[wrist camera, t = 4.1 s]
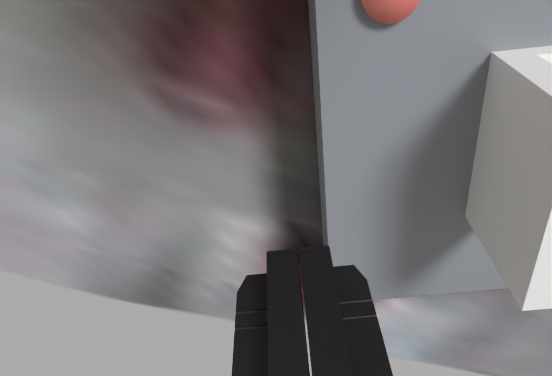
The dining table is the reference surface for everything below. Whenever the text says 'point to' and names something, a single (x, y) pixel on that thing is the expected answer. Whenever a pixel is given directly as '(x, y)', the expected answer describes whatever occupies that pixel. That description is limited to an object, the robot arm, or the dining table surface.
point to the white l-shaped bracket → (516, 174)
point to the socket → (408, 133)
